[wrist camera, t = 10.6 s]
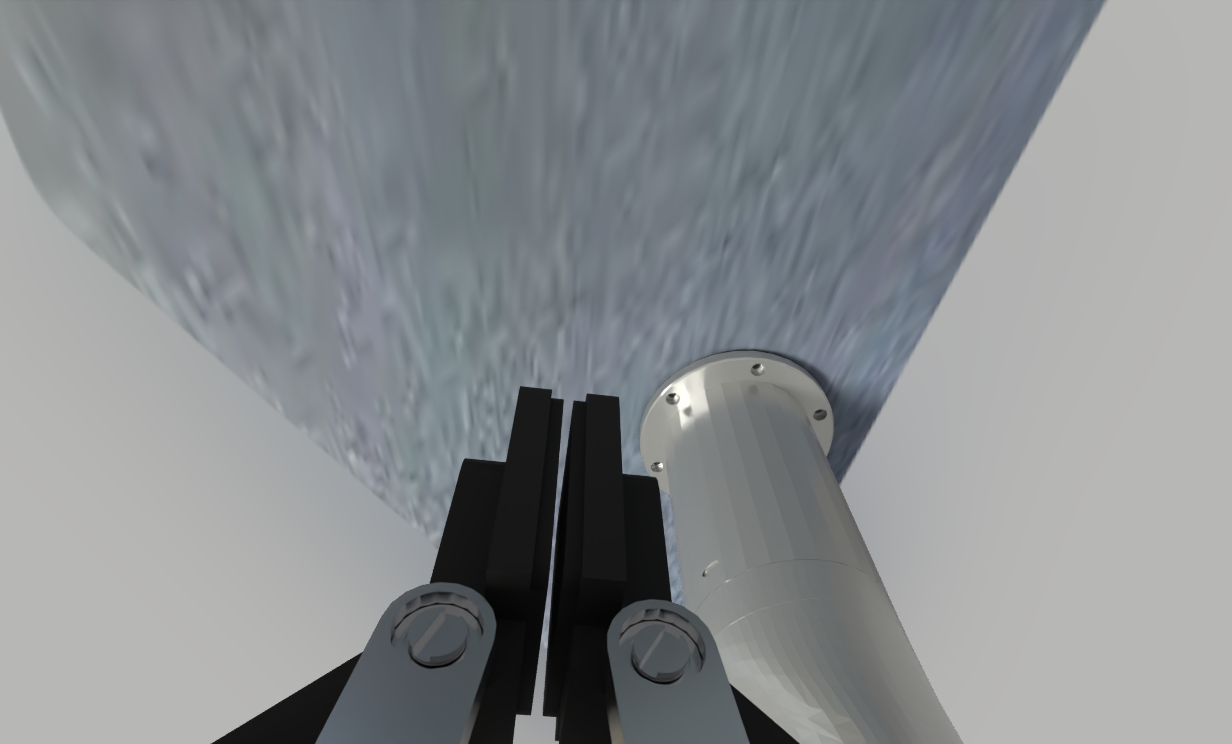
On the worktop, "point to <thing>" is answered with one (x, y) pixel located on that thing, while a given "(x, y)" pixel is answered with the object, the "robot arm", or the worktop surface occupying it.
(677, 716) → the robot arm
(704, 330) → the worktop surface
